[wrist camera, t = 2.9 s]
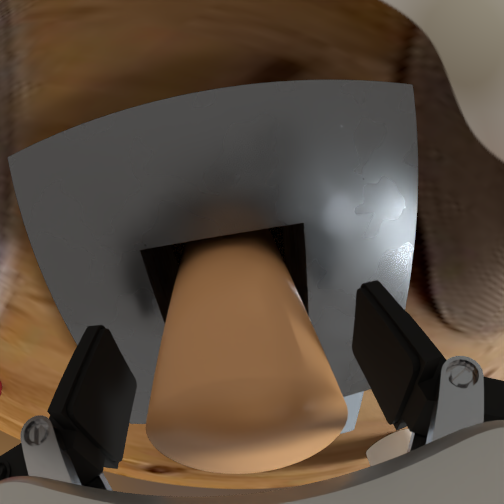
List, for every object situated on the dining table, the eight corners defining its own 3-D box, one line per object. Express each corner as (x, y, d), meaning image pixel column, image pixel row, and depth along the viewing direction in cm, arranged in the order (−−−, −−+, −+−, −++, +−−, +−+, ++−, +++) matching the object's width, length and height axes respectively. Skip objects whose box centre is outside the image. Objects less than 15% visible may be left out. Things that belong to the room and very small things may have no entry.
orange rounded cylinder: (269, 202, 15) (359, 352, 5) (279, 284, 17) (338, 455, 7) (175, 218, 15) (109, 388, 5) (195, 298, 17) (183, 477, 7)
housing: (358, 92, 13) (412, 84, 8) (359, 334, 20) (387, 383, 15) (63, 144, 12) (7, 157, 8) (142, 369, 19) (130, 423, 15)
